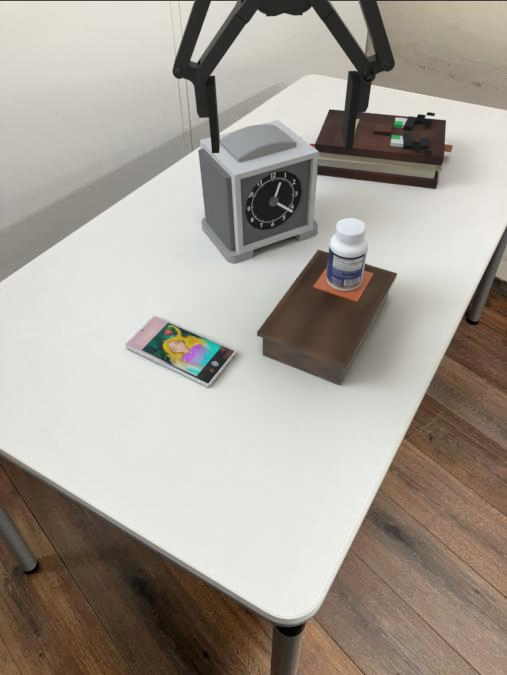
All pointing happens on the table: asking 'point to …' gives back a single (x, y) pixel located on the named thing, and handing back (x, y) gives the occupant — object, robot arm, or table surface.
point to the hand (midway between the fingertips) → (281, 145)
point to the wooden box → (324, 320)
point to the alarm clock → (258, 189)
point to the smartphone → (181, 350)
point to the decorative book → (384, 149)
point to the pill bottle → (347, 255)
